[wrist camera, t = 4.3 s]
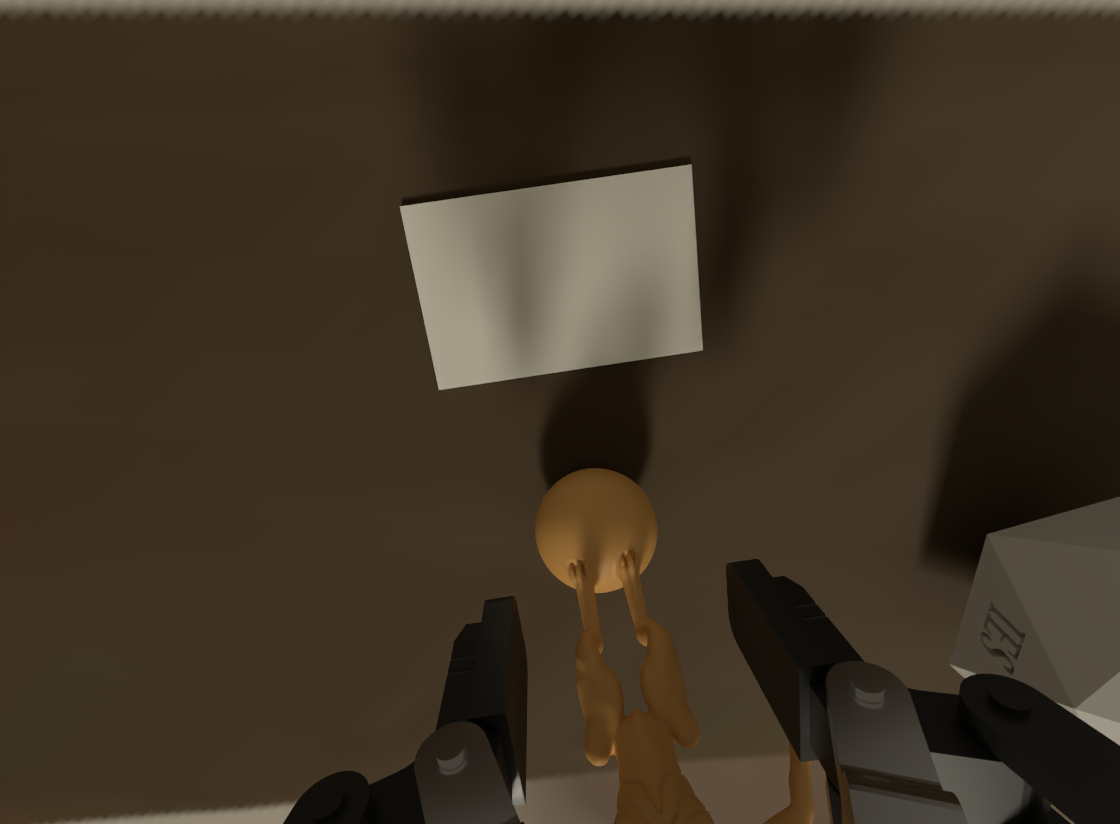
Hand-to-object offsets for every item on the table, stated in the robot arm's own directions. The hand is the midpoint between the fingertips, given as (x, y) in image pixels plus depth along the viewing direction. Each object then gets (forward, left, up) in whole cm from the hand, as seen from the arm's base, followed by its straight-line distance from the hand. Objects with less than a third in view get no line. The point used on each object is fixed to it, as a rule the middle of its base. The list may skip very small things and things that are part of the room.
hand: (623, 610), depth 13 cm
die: (-16, +5, -7) cm, 18 cm away
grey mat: (0, -8, -6) cm, 10 cm away
